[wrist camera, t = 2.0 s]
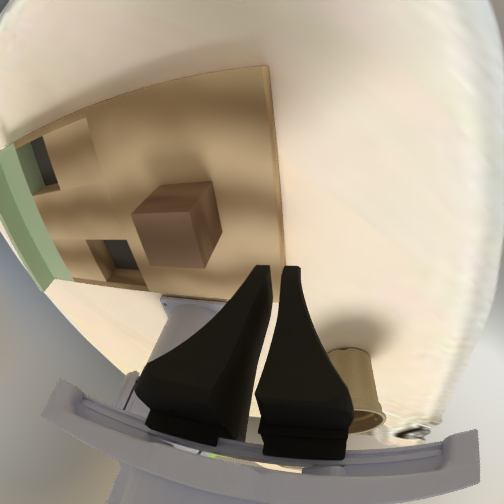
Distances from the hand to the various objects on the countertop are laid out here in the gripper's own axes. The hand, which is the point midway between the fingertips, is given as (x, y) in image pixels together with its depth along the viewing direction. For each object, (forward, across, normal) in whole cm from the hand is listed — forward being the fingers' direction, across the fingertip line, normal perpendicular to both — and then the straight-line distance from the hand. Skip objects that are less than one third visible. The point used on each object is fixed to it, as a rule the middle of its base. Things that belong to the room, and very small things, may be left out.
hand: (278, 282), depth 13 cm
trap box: (+9, +16, 0) cm, 19 cm away
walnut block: (+7, +7, 0) cm, 10 cm away
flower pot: (+10, -6, +22) cm, 25 cm away
